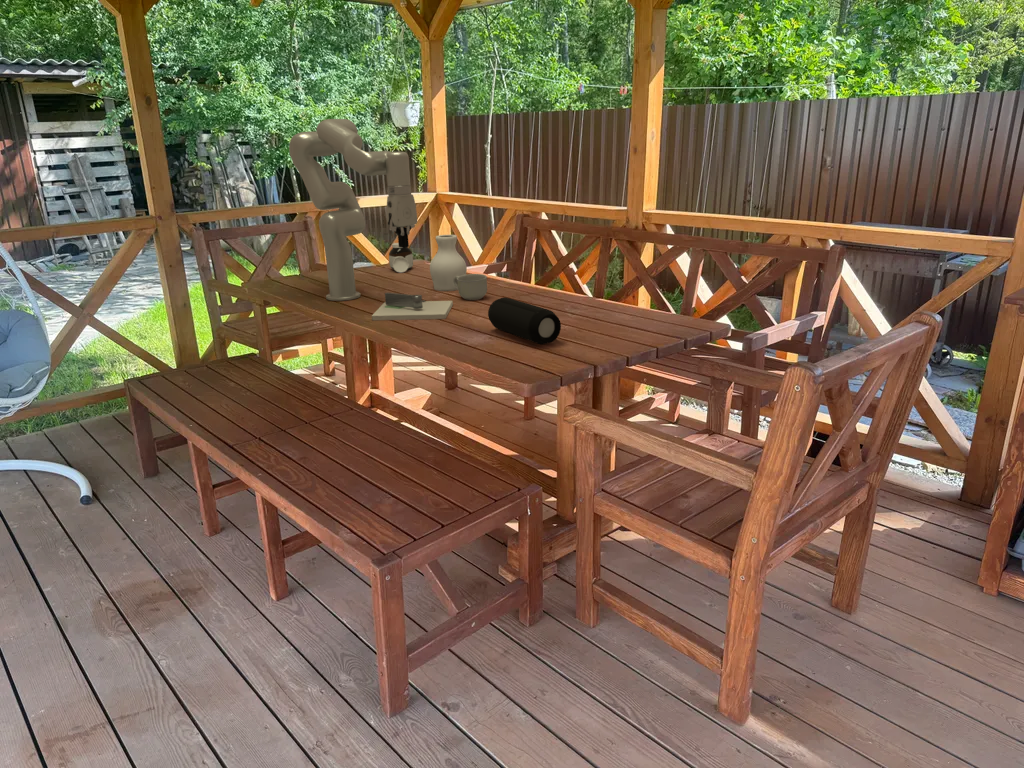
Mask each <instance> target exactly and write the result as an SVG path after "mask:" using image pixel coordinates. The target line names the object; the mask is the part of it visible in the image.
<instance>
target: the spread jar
mask: <svg viewBox="0 0 1024 768" xmlns="http://www.w3.org/2000/svg"><path fill="white" fill-rule="evenodd" d="M391 247H392V248H391V249H390V251H389V252H388V262H389V267H390V268H391V270H393V271H394V272H397V273H400V274H401V273H402V274H403V273H405V272H408V271H410V270H411V269H412V268H413V266H414V255H413V251H412V250H411V249H410V247H406V248H403V247H399V243H398V242H394V243H392V244H391Z"/></svg>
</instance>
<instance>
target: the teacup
mask: <svg viewBox="0 0 1024 768" xmlns="http://www.w3.org/2000/svg"><path fill="white" fill-rule="evenodd" d="M487 279H488V275H486V274H482V273H470V274H469V273H468V274H467V273H466V275H462V276H455V277H454V284H455V286H456V287H457V288H458V290H457V291H458V294H459V296H460V297H461V298H463V299H464V300H465V301H477V300H481V299H482V298H484V296H485V295H486V294H487V292H488V280H487Z"/></svg>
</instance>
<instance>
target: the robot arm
mask: <svg viewBox="0 0 1024 768" xmlns="http://www.w3.org/2000/svg"><path fill="white" fill-rule="evenodd" d="M288 146H289V155H290V159H291V162H292V164H293V166H295V168H296V170H297V172H298V174H299V175H300V177H301V179H302V180H303V183H304V186H305V188H306V190H307V192H308V195H309V197H310V199H311V201H312V203H313V206H315V208H316V209H318V210H321V211H327V212H325V213H323V214H322V215H321V216H320V218H319V220H318V226H319V227H318V228H319V232H320V234H321V237H322V241H323V247H324V256H325V262H326V264H325V265H326V270H327V271H326V272H327V281H328V288H329V293H328V294H327V293H326V295H325V298H326V300H328V301H332V302H333V301H335V302H339V301H341V302H342V301H350V300H356V299H358V298H360V297H362V296H361V293H360V292H359V291H357V290H356V289H357V288H356V279H355V271H354V262H353V261H354V260H353V253H352V252H353V251H352V247H351V244H350V243H349V241H348V240H347V238H346V237H351V236H356V235H359V234H361V233H364V231H365V228H366V219H365V218H366V217H365V216H364V215H365V214H364V213H363V211H362V209H361V206H360V204H359V201H358V199H357V197H356V195H355V192H354V191H353V189H352V188H351V186H350V185H349V184H348V183H346V182H344V181H331V180H330V179H329V178H328V175H327V172H326V170H325V169H324V167H323V166H322V164H320V162H318V161H317V160H315V158H314V157H329V156H334V155H336V154H338V153H339V154H341V155H342V156H343V159H344V161H345V163H346V165H347V166H348V167H349V168H350V169H352V170H353V171H355V172H357V173H359V174H360V175H363V176H365V177H366V176H367V177H370V176H371V177H372V176H384V175H385V176H386V182H387V188H386V192H387V197H386V198H387V199H386V221H387V225H388V227H389V228H388V229H389V231H392V232H395V235H396V236H397V240H398V241H397V243H399V247H403V248H406V247H408V248H410V246H409V245H410V244H409V235H410V231H411V230H412V229H414V228H415V227H416V224H418V213H417V206H416V202H415V201H416V200H415V197H414V194H412V189H411V188H412V185H411V184H412V183H411V173H410V158H409V154H408V153H407V152H405V151H391V150H379V151H378V150H376V151H375V150H373V151H365V150H363V149H362V147H363V140H362V137H361V135H360V134H359V132H358V128H357V125H356V124H355V123H354V122H353V121H352V120H350V119H347V118H327V119H324V120H321V121H320V122H319V123H318V124H317V126H316V130H315V131H301V132H298V133H295V134H294V135H293V136H292V137H291V138H290V140H289V145H288ZM336 209H337V210H336ZM331 210H332V211H331Z"/></svg>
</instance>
